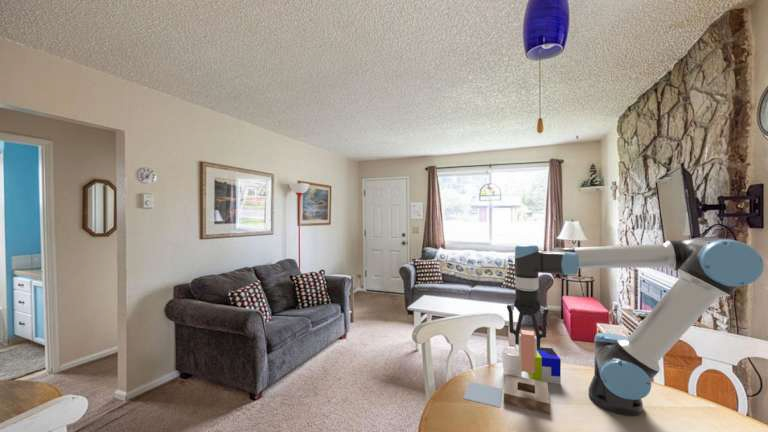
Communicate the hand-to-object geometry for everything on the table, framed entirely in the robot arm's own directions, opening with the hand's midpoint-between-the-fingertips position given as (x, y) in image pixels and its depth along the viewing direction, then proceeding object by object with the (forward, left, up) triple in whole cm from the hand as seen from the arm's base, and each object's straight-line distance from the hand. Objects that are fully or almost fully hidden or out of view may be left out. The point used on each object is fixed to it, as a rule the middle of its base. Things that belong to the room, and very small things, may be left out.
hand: (527, 354), depth 109 cm
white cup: (+5, -15, -16) cm, 23 cm away
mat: (+14, +4, -16) cm, 22 cm away
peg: (0, 0, -5) cm, 5 cm away
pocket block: (0, 0, -16) cm, 16 cm away
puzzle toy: (-6, -19, -16) cm, 26 cm away
